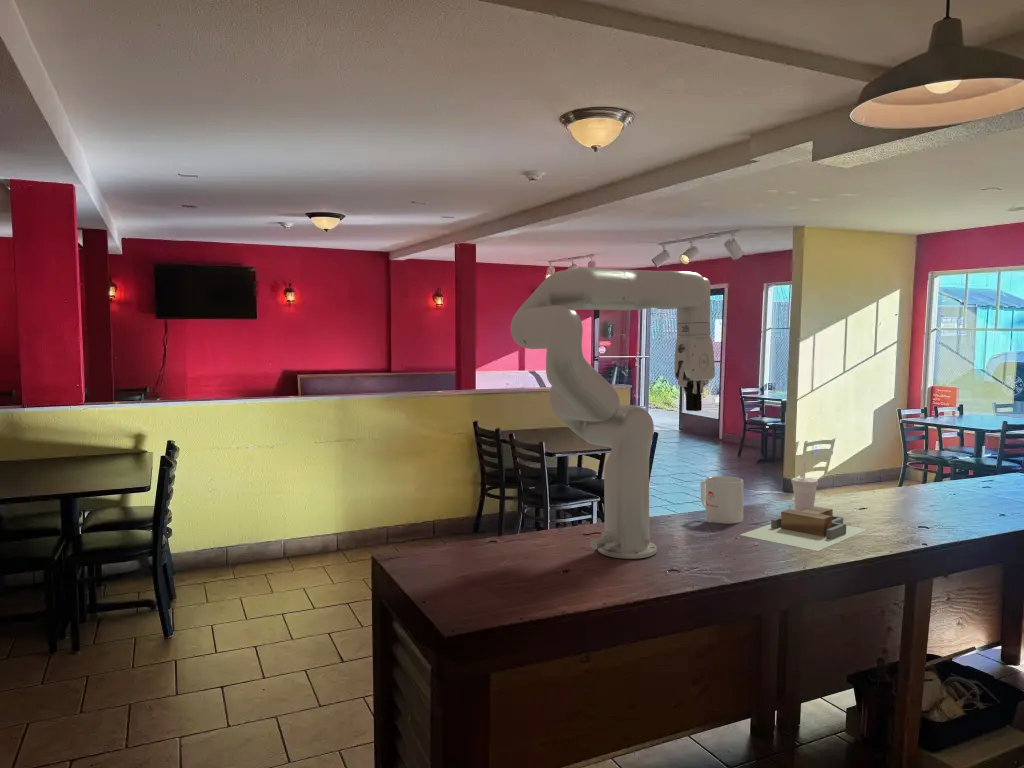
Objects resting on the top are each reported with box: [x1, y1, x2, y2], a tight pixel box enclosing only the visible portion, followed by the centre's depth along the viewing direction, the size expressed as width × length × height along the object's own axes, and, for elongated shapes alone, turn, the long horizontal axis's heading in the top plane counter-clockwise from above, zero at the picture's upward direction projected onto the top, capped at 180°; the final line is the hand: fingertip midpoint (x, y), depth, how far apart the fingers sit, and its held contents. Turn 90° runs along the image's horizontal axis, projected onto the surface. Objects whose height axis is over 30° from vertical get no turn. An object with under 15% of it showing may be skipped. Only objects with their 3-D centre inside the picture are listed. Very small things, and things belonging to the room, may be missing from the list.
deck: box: [739, 515, 869, 552], centre depth 162 cm, size 25×18×3 cm
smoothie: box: [790, 461, 819, 511], centre depth 180 cm, size 6×6×14 cm
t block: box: [780, 505, 834, 537], centre depth 165 cm, size 11×10×4 cm
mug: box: [700, 475, 744, 525], centre depth 176 cm, size 12×9×11 cm
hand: (693, 410), depth 164 cm, fingers closed
